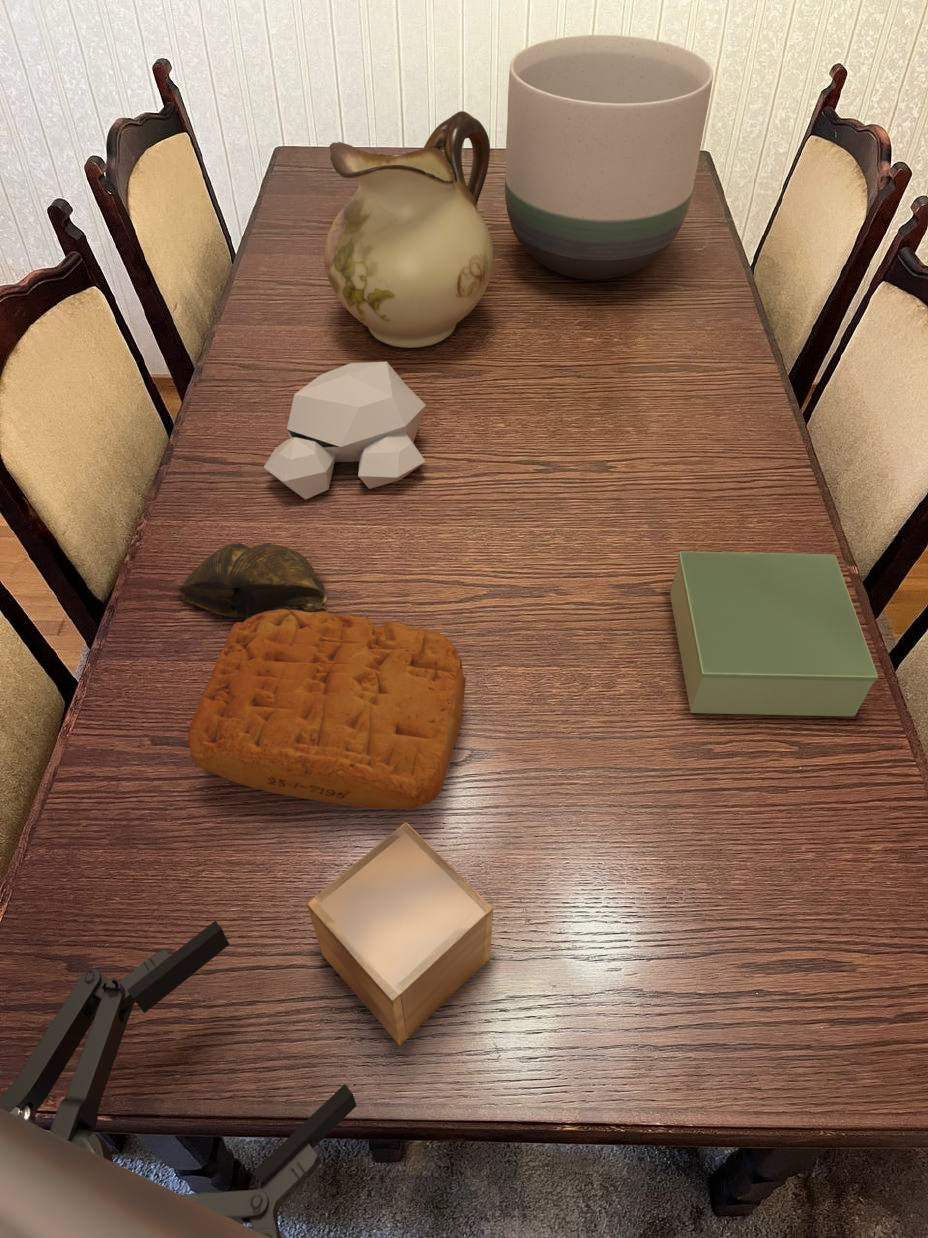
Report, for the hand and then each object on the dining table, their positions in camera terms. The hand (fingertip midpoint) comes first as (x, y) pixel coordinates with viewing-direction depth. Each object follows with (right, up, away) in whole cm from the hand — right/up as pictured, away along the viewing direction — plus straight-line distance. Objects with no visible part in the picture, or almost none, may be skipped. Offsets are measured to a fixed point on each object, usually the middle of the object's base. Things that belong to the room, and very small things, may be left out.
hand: (283, 1008), depth 57 cm
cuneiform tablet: (0, +14, +24) cm, 28 cm away
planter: (+31, +79, +82) cm, 118 cm away
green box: (+40, +22, +31) cm, 55 cm away
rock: (-3, +44, +51) cm, 68 cm away
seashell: (-9, +27, +35) cm, 45 cm away
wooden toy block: (+7, -1, +11) cm, 13 cm away
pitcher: (+4, +66, +71) cm, 97 cm away
